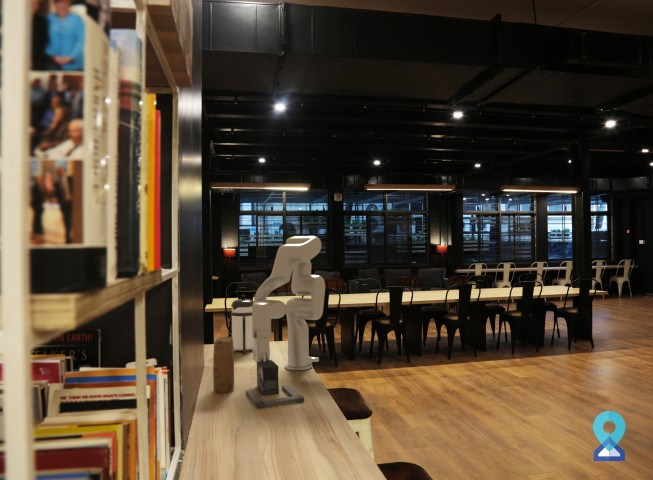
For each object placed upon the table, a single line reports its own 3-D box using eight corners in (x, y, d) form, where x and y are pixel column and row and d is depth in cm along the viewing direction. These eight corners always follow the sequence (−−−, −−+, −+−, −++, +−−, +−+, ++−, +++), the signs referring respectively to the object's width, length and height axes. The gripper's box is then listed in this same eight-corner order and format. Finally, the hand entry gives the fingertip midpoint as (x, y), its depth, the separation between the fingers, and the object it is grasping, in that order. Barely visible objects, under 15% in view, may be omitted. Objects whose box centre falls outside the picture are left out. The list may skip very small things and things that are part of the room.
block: (232, 393, 169) (232, 340, 169) (212, 394, 168) (211, 341, 169) (235, 385, 180) (235, 334, 180) (216, 385, 179) (216, 335, 179)
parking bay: (289, 388, 175) (289, 384, 175) (304, 401, 159) (304, 397, 159) (246, 394, 168) (246, 390, 168) (257, 409, 153) (257, 404, 153)
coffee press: (259, 353, 234) (259, 295, 235) (228, 354, 232) (228, 296, 232) (259, 346, 251) (258, 292, 252) (230, 347, 249) (229, 293, 249)
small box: (255, 387, 176) (255, 361, 176) (272, 385, 178) (272, 359, 178) (262, 396, 166) (262, 367, 166) (279, 393, 168) (279, 365, 169)
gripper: (248, 331, 186) (248, 375, 185) (256, 337, 172) (257, 385, 171) (266, 329, 189) (266, 373, 188) (275, 336, 175) (276, 383, 174)
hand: (261, 379), depth 180 cm, fingers closed
